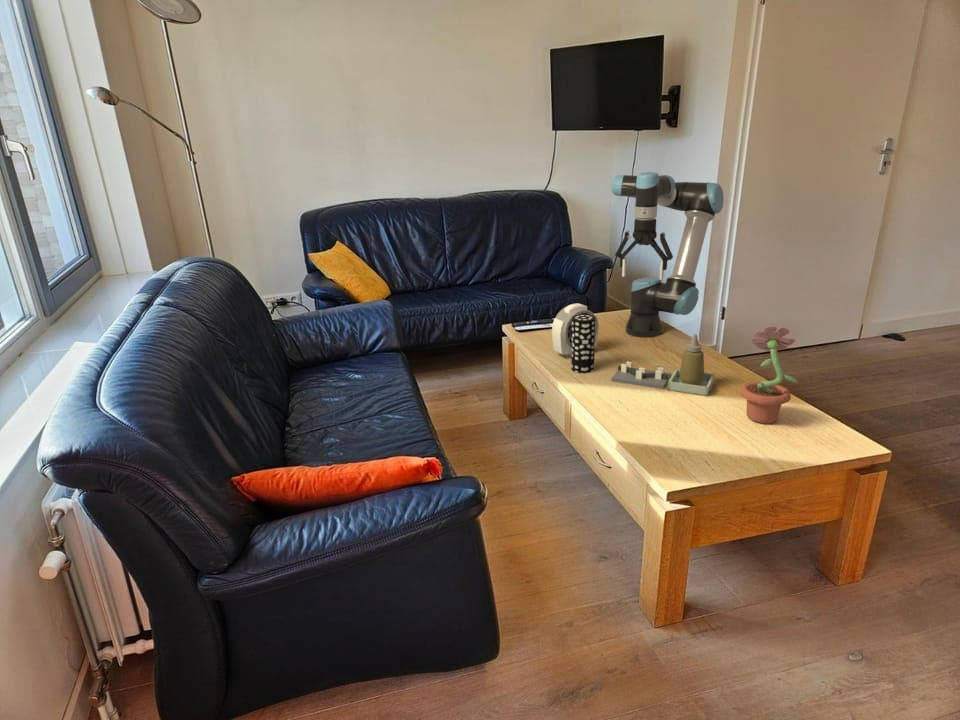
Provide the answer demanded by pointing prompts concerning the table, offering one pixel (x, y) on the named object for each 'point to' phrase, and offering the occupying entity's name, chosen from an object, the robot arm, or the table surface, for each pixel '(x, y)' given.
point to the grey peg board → (641, 376)
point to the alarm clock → (568, 328)
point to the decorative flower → (768, 394)
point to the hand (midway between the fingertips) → (642, 277)
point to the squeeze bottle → (692, 364)
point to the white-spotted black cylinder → (583, 343)
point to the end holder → (703, 389)
